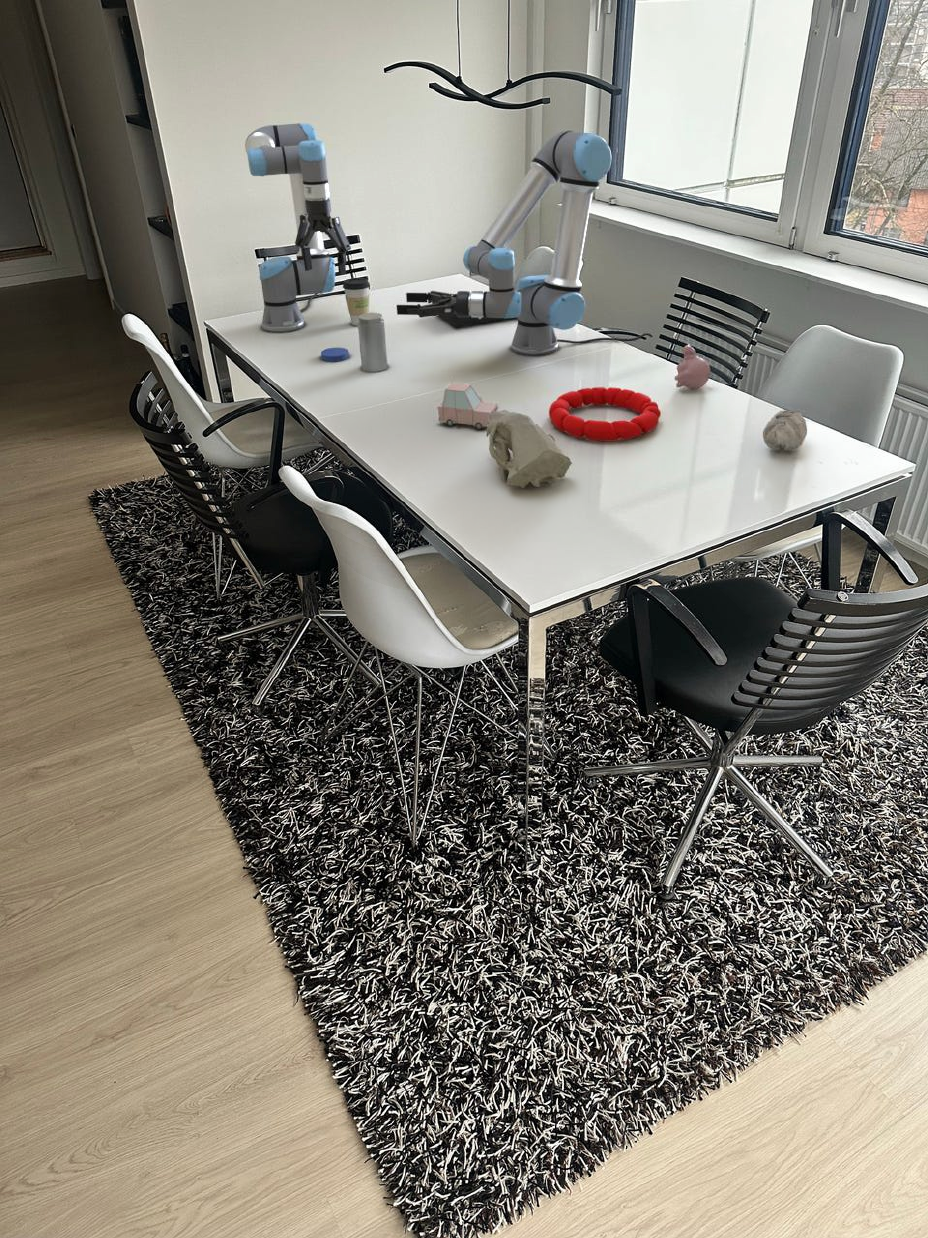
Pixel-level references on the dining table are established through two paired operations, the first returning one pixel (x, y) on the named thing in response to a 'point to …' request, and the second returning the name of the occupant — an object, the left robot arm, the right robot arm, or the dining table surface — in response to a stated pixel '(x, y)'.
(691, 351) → the figurine
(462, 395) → the toy car
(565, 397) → the decorative ring
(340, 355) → the lid
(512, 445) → the grey rock
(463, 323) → the electronic device
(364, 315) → the jar
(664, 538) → the dining table surface
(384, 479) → the dining table surface
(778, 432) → the grey rounded lump
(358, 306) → the coffee cup
